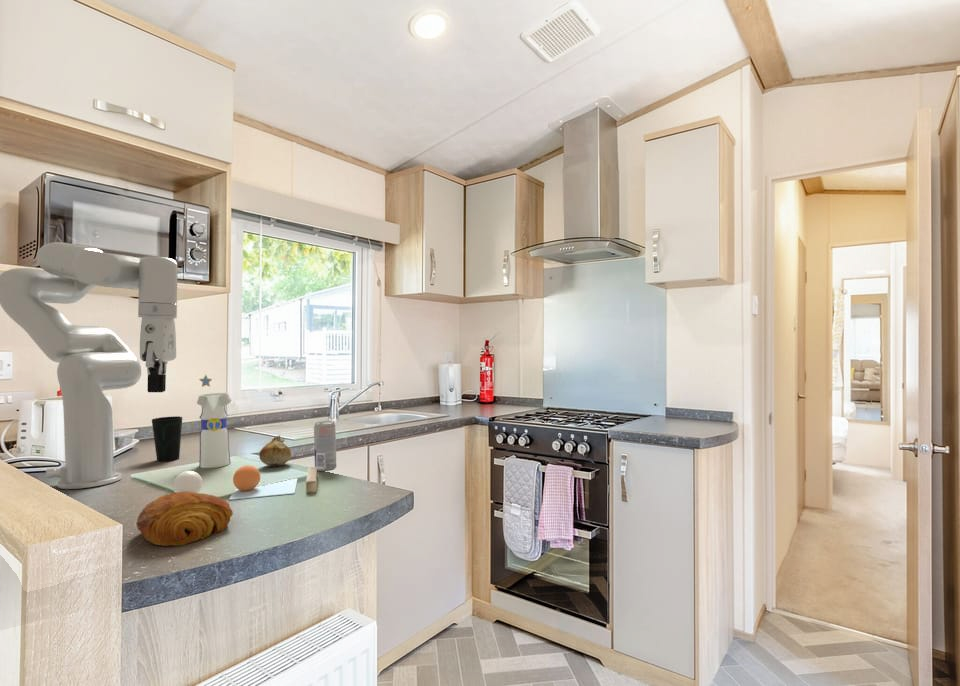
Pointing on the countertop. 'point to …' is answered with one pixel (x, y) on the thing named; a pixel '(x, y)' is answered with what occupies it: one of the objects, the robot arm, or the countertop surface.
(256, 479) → the brown egg
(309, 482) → the stop rail
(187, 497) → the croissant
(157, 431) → the cup
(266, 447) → the onion
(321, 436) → the energy drink
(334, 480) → the countertop surface
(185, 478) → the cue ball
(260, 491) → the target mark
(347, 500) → the countertop surface
